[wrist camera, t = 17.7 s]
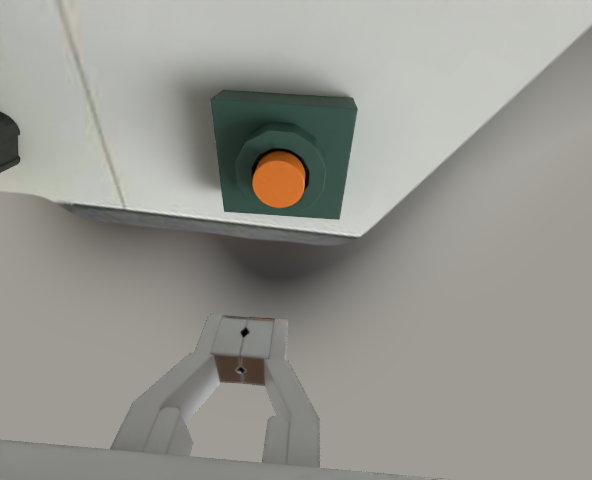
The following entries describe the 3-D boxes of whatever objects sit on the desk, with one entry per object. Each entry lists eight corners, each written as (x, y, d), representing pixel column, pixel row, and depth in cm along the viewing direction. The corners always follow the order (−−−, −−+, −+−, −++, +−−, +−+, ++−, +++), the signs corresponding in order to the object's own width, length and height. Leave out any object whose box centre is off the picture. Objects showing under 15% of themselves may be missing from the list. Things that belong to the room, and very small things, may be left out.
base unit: (232, 193, 28) (218, 223, 24) (222, 89, 22) (202, 105, 18) (337, 201, 28) (340, 232, 24) (353, 98, 22) (360, 116, 18)
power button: (257, 194, 23) (253, 206, 21) (255, 148, 20) (250, 158, 19) (303, 197, 23) (302, 209, 21) (306, 152, 20) (306, 162, 19)
